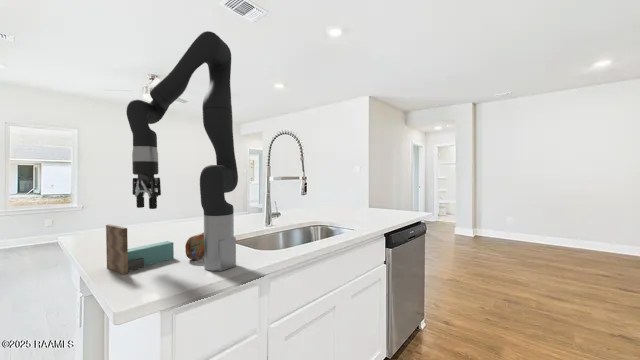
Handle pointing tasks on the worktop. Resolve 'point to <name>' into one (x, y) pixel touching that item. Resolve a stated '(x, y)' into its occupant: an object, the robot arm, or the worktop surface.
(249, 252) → the worktop surface
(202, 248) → the tin
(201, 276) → the worktop surface
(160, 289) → the worktop surface
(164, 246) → the rail
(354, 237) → the worktop surface
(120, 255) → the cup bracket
